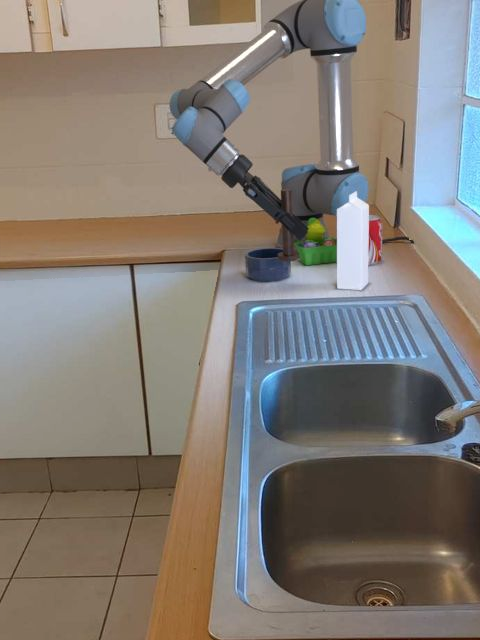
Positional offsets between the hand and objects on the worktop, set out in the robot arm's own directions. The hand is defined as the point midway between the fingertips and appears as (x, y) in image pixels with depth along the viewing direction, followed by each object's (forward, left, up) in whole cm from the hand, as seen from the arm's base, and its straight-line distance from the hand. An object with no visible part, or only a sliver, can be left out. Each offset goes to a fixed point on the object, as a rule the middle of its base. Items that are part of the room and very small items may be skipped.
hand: (304, 234), depth 176 cm
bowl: (+5, -14, -13) cm, 19 cm away
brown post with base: (+3, -2, -6) cm, 7 cm away
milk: (-10, +4, -13) cm, 17 cm away
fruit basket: (-12, -22, -13) cm, 28 cm away
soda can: (-23, -14, -13) cm, 30 cm away
